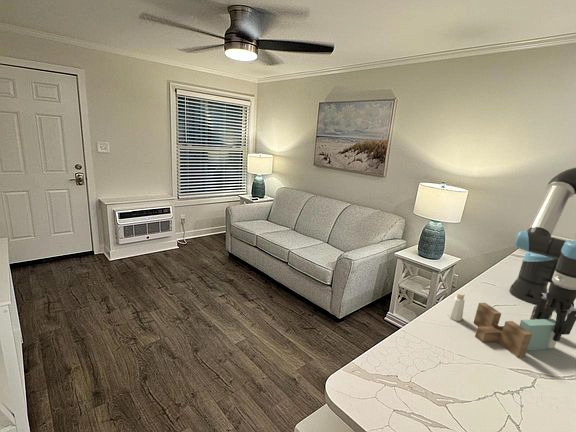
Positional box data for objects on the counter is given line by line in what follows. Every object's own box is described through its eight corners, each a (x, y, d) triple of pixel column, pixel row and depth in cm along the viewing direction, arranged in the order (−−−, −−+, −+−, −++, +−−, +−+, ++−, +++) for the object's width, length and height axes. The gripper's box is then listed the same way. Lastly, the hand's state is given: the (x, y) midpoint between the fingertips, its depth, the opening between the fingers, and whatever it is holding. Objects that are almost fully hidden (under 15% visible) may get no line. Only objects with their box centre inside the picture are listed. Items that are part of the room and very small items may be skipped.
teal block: (544, 342, 116) (552, 318, 113) (553, 348, 113) (562, 324, 110) (513, 343, 113) (521, 319, 111) (522, 350, 110) (530, 325, 107)
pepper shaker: (444, 314, 129) (450, 290, 126) (453, 312, 131) (459, 289, 128) (455, 322, 124) (462, 297, 121) (465, 320, 126) (471, 295, 123)
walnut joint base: (459, 323, 123) (464, 303, 121) (493, 322, 126) (499, 302, 124) (501, 358, 104) (508, 335, 102) (540, 356, 108) (547, 333, 105)
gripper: (533, 274, 115) (516, 329, 121) (582, 297, 99) (559, 359, 105) (550, 274, 116) (532, 329, 122) (600, 297, 101) (576, 358, 106)
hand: (544, 343), depth 113 cm, fingers closed on teal block, 3 cm apart
